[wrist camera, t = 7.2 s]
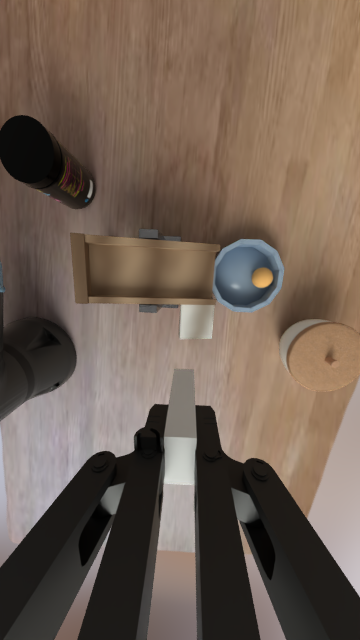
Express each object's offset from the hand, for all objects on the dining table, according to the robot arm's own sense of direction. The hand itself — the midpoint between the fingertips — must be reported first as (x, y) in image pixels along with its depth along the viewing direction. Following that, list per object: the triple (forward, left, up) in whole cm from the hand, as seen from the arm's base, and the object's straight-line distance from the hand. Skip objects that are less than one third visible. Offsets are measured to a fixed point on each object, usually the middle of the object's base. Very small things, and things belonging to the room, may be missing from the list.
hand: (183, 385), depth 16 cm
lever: (-6, +6, -14) cm, 16 cm away
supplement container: (-20, +21, -22) cm, 36 cm away
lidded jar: (+20, -3, -22) cm, 30 cm away
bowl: (+9, +8, -22) cm, 25 cm away
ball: (+11, +8, -20) cm, 24 cm away
